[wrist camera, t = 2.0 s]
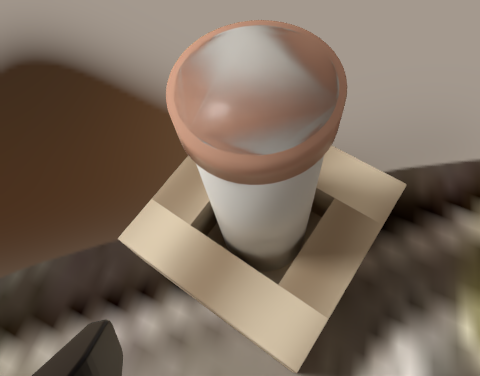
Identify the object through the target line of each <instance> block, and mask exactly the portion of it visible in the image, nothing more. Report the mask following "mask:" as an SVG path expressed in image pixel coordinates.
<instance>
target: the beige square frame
mask: <svg viewBox="0 0 480 376" xmlns="http://www.w3.org/2000/svg"><path fill="white" fill-rule="evenodd" d="M406 185H407V184H405V183H403V182H401V181H399V180H397V179H395V178H393V177H392V176H390V175H388V174H386V173H384V172H382V171H380V170H378V169H376V168H374V167H372V166H370V165H368V164H366V163H364V162H362V161H360V160H359V159H357V158H355V157H353V156H351V155H349V154H347V153H345V152H343V151H341V150H339V149H337V148H336V147H333V146H332V145H331V146H330V148H329V150H328V151H327V152H326V153H325V155H324V158H323V162H322V166H321V170H320V175H319V179H318V183H317V187H316V191H315V195H314V199H313V203H312V208H311V212H310V216H309V220H308V224H307V228H306V232H305V236H304V241H303V245H302V247H301V250H300V251H299V253H298V255H297V256H296V257H295V258H294V259H293V260H292V261H291V262H290V263H289V264H288V265H286V266H284V267H283V268H280V269H278V270H274V271H268V272H260V271H257V270H256V269H254V268H253V267H251V266H250V265H248V264H247V263H245V262H244V261H242V260H241V259H240V258H238V257H237V256H235V255H234V254H232V253H231V252H229V251H228V249H227V246H226V243H225V241H224V238H223V235H222V233H221V230H220V227H219V225H218V222H217V219H216V216H215V214H214V211H213V208H212V206H211V203H210V200H209V197H208V195H207V192H206V189H205V187H204V184H203V181H202V178H201V176H200V173H199V170H198V168H197V165H196V163H195V162H194V161H193V160H192V159H191V158H190V156H188V157H187V158H186V159H185V160H184V161H183V163H182V164H181V165H180V166H179V167H178V169H177V170H176V171H175V172H174V173H173V175H172V176H171V177H170V178H169V179H168V180H167V182H166V183H165V184H164V185H163V186H162V187H161V188H160V190H159V191H158V192H157V193H156V194H155V196H154V197H153V198H152V199H151V200H150V202H149V203H148V204H147V205H146V206H145V207H144V208H143V210H142V211H141V212H140V213H139V214H138V216H137V217H136V218H135V219H134V220H133V221H132V223H131V224H130V225H129V226H128V227H127V228H126V230H125V231H124V232H123V233H122V234H121V236H120V237H119V238H118V239H119V240H120V241H121V242H122V243H123V244H125V245H126V246H127V247H128V248H129V249H131V250H132V251H133V252H134V253H135V254H136V255H138V256H139V257H140V258H141V259H143V260H144V261H145V262H146V263H148V264H149V265H150V266H152V267H153V268H154V269H156V270H157V271H158V272H160V273H161V274H162V275H164V276H165V277H166V278H168V279H169V280H170V281H172V282H173V283H174V284H176V285H177V286H178V287H180V288H181V289H182V290H184V291H185V292H186V293H188V294H189V295H190V296H192V297H193V298H194V299H196V300H197V301H198V302H200V303H201V304H202V305H204V306H205V307H206V308H208V309H209V310H210V311H212V312H213V313H214V314H216V315H217V316H218V317H220V318H221V319H222V320H224V321H225V322H226V323H228V324H229V325H230V326H232V327H233V328H234V329H236V330H237V331H238V332H239V333H241V334H242V335H243V336H245V337H246V338H247V339H249V340H250V341H251V342H253V343H254V344H255V345H257V346H258V347H259V348H261V349H262V350H263V351H265V352H266V353H267V354H269V355H270V356H271V357H273V358H274V359H275V360H277V361H278V362H279V363H281V364H282V365H283V366H285V367H286V368H287V369H289V370H290V371H291V372H293V373H297V372H298V370H299V369H300V367H301V365H302V364H303V362H304V360H305V358H306V357H307V355H308V353H309V352H310V350H311V348H312V346H313V345H314V343H315V341H316V340H317V338H318V336H319V334H320V333H321V331H322V329H323V328H324V326H325V324H326V322H327V321H328V319H329V317H330V316H331V314H332V312H333V310H334V309H335V307H336V305H337V304H338V302H339V300H340V298H341V297H342V295H343V293H344V292H345V290H346V288H347V286H348V285H349V283H350V281H351V280H352V278H353V276H354V274H355V273H356V271H357V269H358V268H359V266H360V264H361V262H362V261H363V259H364V257H365V256H366V254H367V252H368V250H369V249H370V247H371V245H372V244H373V242H374V240H375V238H376V237H377V235H378V233H379V232H380V230H381V228H382V226H383V225H384V223H385V221H386V220H387V218H388V216H389V214H390V213H391V211H392V209H393V208H394V206H395V204H396V202H397V201H398V199H399V197H400V196H401V194H402V192H403V190H404V189H405V187H406Z"/></svg>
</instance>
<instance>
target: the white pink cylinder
mask: <svg viewBox="0 0 480 376" xmlns="http://www.w3.org/2000/svg"><path fill="white" fill-rule="evenodd" d="M346 97H347V81H346V75H345V72H344V68H343V66H342V64H341V62H340V60H339V58H338V57H337V56H336V54H335V52H334V51H333V50H332V49H331V48H330V47H329V46H328V45H327V44H326V43H325V42H324V41H323V40H321V39H320V38H319V37H317V36H316V35H314V34H313V33H311V32H309V31H307V30H305V29H303V28H300V27H297V26H295V25H291V24H287V23H283V22H277V21H266V20H254V21H245V22H238V23H234V24H230V25H227V26H224V27H221V28H218V29H216V30H214V31H212V32H209V33H208V34H206V35H204V36H202V37H201V38H199V39H198V40H197V41H195V42H194V43H193V44H192V45H190V46H189V47H188V48H187V49H186V50H185V51H184V52H183V54H182V55H181V56H180V57H179V59H178V60H177V62H176V63H175V65H174V67H173V69H172V71H171V73H170V76H169V79H168V82H167V89H166V102H167V107H168V111H169V114H170V116H171V119H172V121H173V124H174V127H175V129H176V132H177V134H178V137H179V139H180V142H181V144H182V146H183V148H184V149H185V151H186V153H187V154H188V155H189V156H190V158H191V159H192V160H193V161H194V162H195V163H196V165H197V168H198V170H199V173H200V176H201V178H202V181H203V184H204V187H205V189H206V192H207V195H208V197H209V200H210V203H211V206H212V208H213V211H214V214H215V216H216V219H217V222H218V225H219V227H220V230H221V233H222V235H223V238H224V241H225V243H226V246H227V249H228V251H229V252H231V253H232V254H234V255H235V256H237V257H238V258H240V259H241V260H242V261H244V262H245V263H247V264H248V265H250V266H251V267H253V268H254V269H256V270H257V271H260V272H268V271H274V270H278V269H280V268H283V267H284V266H286V265H288V264H289V263H290V262H291V261H292V260H293V259H294V258H295V257H296V256H297V255H298V253H299V251H300V250H301V247H302V245H303V241H304V236H305V232H306V228H307V224H308V220H309V216H310V212H311V208H312V203H313V199H314V195H315V191H316V187H317V183H318V179H319V175H320V170H321V166H322V162H323V158H324V155H325V153H326V152H327V151H328V150H329V148H330V146H331V145H332V143H333V141H334V139H335V136H336V134H337V131H338V128H339V124H340V120H341V117H342V113H343V109H344V106H345V101H346Z"/></svg>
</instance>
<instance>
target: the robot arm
mask: <svg viewBox="0 0 480 376" xmlns="http://www.w3.org/2000/svg"><path fill="white" fill-rule="evenodd" d="M122 365H123V353H122V348H121V346H120V343H119V340H118V338H117V335H116V333H115V330H114V328H113V325H112V323H111V322H110V321H109V320H102V321H97V322H93V323H90V324H88V325H87V326H86V327H85V328H84V329H83V330H82V331H81V332H80V333H78V334H77V335H76V336H75V337H74V338H73V339H72V340H71V341H70V342H68V343H67V344H66V345H65V346H64V347H63V348H62V349H61V350H60V351H59V352H57V353H56V354H55V355H54V356H53V357H52V358H51V359H50V360H49V361H47V362H46V363H45V364H44V365H43V366H42V367H41V368H40V369H39V370H38V371H36V372H35V373H34V374H33V375H32V376H122Z"/></svg>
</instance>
